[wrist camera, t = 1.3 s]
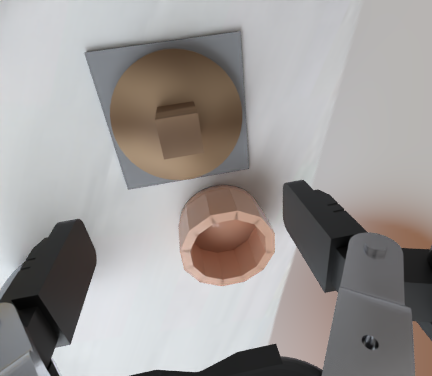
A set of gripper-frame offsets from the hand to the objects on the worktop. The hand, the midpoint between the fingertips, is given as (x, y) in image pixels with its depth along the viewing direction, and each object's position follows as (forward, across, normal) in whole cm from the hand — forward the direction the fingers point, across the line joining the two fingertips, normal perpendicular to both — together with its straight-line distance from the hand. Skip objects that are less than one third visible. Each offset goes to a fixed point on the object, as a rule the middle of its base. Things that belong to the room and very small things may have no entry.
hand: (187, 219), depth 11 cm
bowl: (+15, -3, +12) cm, 20 cm away
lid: (+15, 0, 0) cm, 15 cm away
